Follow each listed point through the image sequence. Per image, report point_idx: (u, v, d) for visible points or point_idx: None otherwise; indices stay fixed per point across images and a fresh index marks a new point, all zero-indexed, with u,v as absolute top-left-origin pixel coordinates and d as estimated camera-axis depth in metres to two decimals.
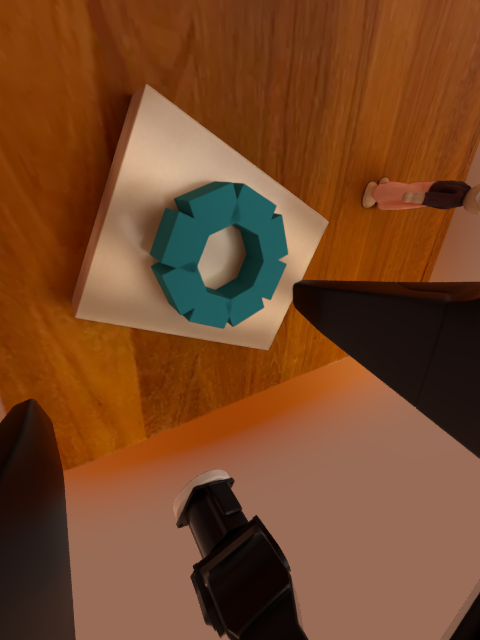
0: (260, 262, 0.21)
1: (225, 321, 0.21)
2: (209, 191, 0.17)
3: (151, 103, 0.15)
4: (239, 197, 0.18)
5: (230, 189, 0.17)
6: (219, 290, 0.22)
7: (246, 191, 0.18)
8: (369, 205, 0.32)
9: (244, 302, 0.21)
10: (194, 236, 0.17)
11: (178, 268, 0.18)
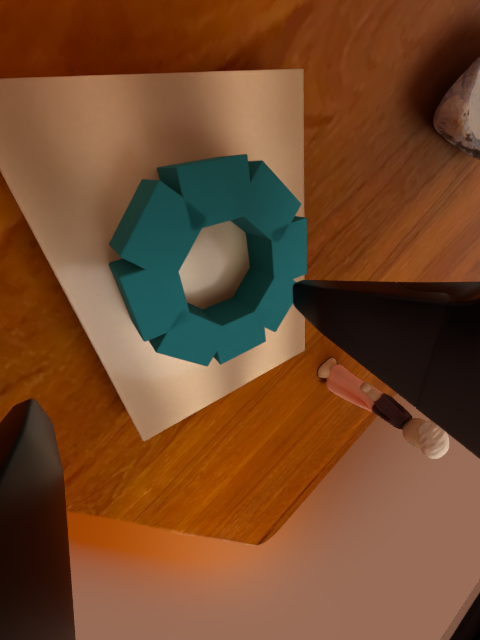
0: (249, 310, 0.15)
1: (156, 333, 0.12)
2: None
3: (293, 83, 0.14)
4: (294, 223, 0.14)
5: (295, 206, 0.14)
6: None
7: (302, 227, 0.15)
8: (322, 375, 0.31)
9: (198, 335, 0.14)
10: (233, 196, 0.12)
11: (182, 201, 0.11)
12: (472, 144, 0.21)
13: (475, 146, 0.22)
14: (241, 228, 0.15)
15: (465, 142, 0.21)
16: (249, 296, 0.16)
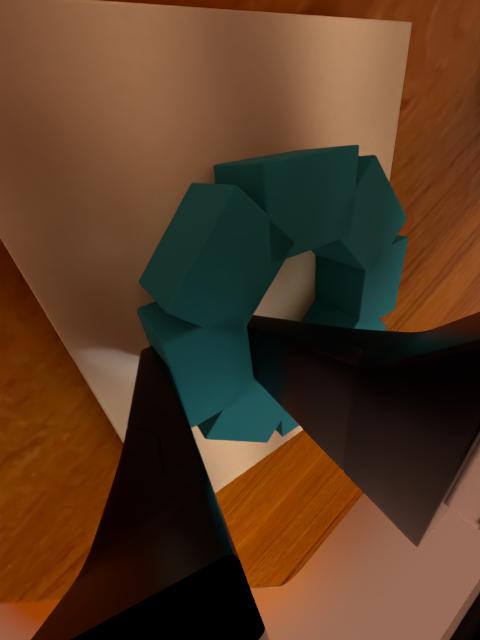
0: None
1: (208, 414, 0.08)
2: None
3: (398, 42, 0.10)
4: (394, 245, 0.10)
5: (400, 222, 0.10)
6: None
7: (402, 250, 0.10)
8: None
9: (261, 406, 0.10)
10: (332, 210, 0.08)
11: (263, 220, 0.07)
12: None
13: None
14: (313, 250, 0.11)
15: None
16: None
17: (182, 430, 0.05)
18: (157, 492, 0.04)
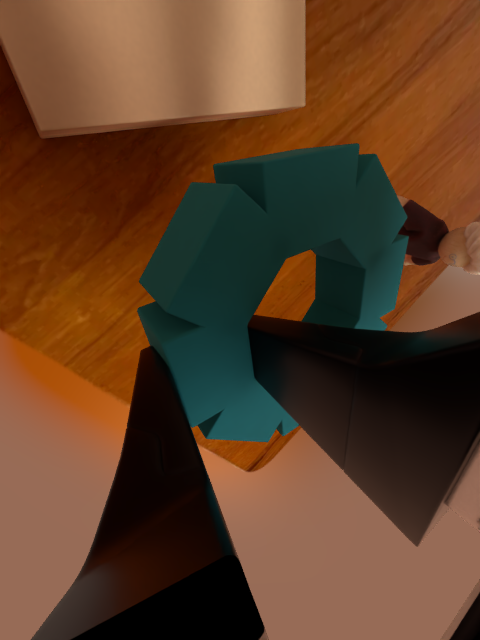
0: None
1: (209, 413, 0.08)
2: None
3: None
4: (395, 244, 0.10)
5: (400, 221, 0.10)
6: None
7: (402, 249, 0.10)
8: None
9: (261, 405, 0.10)
10: (332, 209, 0.08)
11: (264, 220, 0.07)
12: None
13: None
14: (313, 249, 0.11)
15: None
16: None
17: (182, 430, 0.05)
18: (157, 492, 0.04)
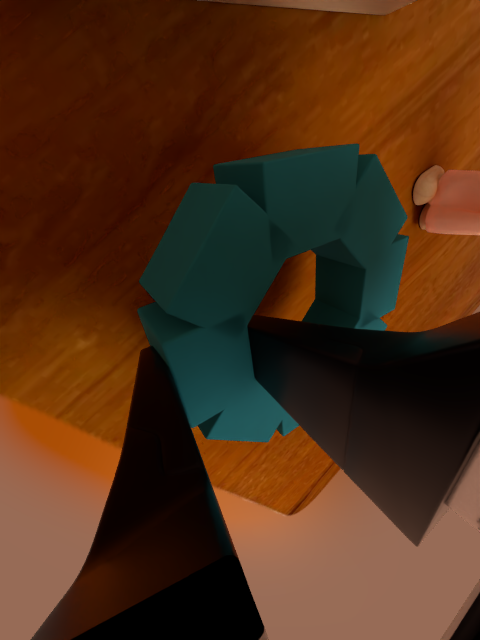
0: None
1: (209, 414, 0.08)
2: None
3: None
4: (395, 244, 0.10)
5: (400, 221, 0.10)
6: None
7: (402, 249, 0.10)
8: (424, 192, 0.17)
9: (261, 406, 0.10)
10: (332, 209, 0.08)
11: (263, 220, 0.07)
12: None
13: None
14: (313, 249, 0.11)
15: None
16: None
17: (182, 430, 0.05)
18: (157, 492, 0.04)
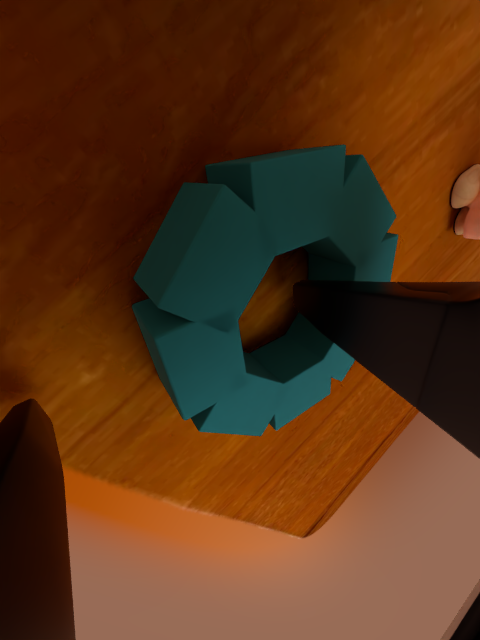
0: (314, 357, 0.11)
1: (201, 407, 0.09)
2: None
3: None
4: (384, 242, 0.10)
5: (389, 219, 0.10)
6: None
7: (391, 247, 0.11)
8: (464, 194, 0.16)
9: (254, 400, 0.10)
10: (320, 208, 0.08)
11: (252, 218, 0.07)
12: None
13: None
14: (305, 248, 0.11)
15: None
16: (312, 337, 0.12)
17: None
18: None
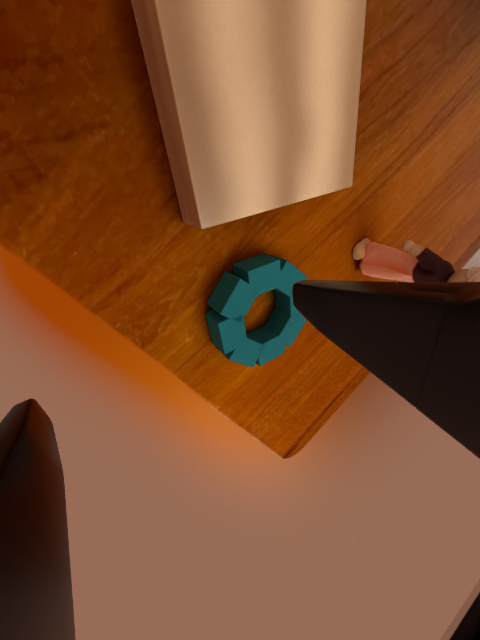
0: (276, 334, 0.26)
1: (230, 349, 0.24)
2: (296, 268, 0.24)
3: None
4: None
5: (303, 278, 0.25)
6: None
7: None
8: (358, 254, 0.31)
9: (249, 350, 0.25)
10: (272, 279, 0.23)
11: (248, 285, 0.22)
12: None
13: None
14: None
15: None
16: (275, 326, 0.27)
17: None
18: None
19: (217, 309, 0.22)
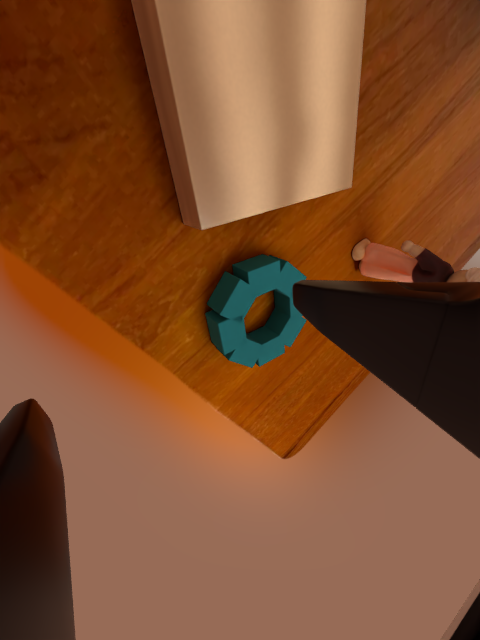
0: (275, 335, 0.26)
1: (230, 350, 0.24)
2: (295, 268, 0.24)
3: None
4: None
5: (303, 279, 0.25)
6: None
7: None
8: (357, 254, 0.31)
9: (249, 350, 0.25)
10: (272, 280, 0.23)
11: (248, 286, 0.22)
12: None
13: None
14: None
15: None
16: (275, 326, 0.27)
17: None
18: None
19: (217, 309, 0.22)
